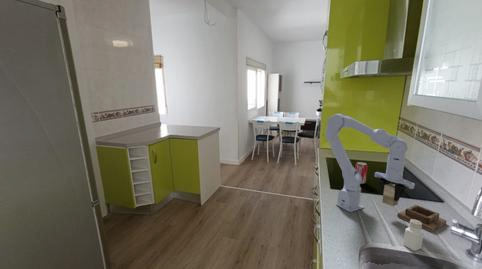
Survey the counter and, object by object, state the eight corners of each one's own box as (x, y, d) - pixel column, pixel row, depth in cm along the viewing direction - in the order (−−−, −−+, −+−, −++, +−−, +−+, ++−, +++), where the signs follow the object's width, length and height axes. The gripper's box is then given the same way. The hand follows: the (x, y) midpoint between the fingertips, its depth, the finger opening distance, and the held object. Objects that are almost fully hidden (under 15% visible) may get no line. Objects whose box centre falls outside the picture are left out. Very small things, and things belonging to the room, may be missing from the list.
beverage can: (367, 185, 126) (369, 165, 123) (355, 184, 127) (357, 164, 125) (363, 181, 132) (365, 162, 129) (352, 180, 133) (354, 161, 131)
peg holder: (431, 232, 83) (433, 222, 82) (397, 216, 93) (398, 208, 92) (445, 223, 88) (447, 214, 87) (412, 210, 99) (413, 201, 98)
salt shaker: (414, 252, 72) (419, 226, 70) (401, 244, 76) (405, 219, 74) (421, 249, 74) (426, 223, 72) (409, 241, 77) (412, 217, 75)
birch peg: (392, 206, 90) (394, 188, 88) (382, 202, 93) (384, 184, 92) (397, 204, 92) (400, 186, 90) (387, 200, 95) (390, 183, 94)
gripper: (420, 171, 85) (415, 203, 87) (382, 161, 98) (379, 189, 100) (411, 174, 82) (405, 207, 84) (373, 163, 95) (369, 192, 97)
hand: (390, 198), depth 92 cm, fingers closed on birch peg, 4 cm apart
